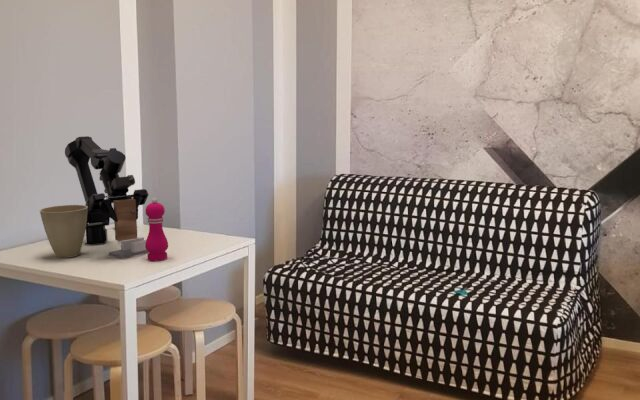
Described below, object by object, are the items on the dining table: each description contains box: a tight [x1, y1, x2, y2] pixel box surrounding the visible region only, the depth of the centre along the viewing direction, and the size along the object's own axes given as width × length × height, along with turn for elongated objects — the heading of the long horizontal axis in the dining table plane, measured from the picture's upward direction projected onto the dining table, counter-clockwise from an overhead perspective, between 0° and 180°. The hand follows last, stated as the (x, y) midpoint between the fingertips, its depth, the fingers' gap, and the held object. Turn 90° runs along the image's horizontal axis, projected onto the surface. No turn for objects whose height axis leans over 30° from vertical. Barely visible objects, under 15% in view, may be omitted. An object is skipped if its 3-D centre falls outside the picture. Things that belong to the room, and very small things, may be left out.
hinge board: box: [107, 236, 149, 259], centre depth 232 cm, size 8×18×4 cm, turn 142°
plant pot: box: [39, 204, 88, 258], centre depth 227 cm, size 15×15×16 cm
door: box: [112, 199, 138, 242], centre depth 223 cm, size 4×6×13 cm, turn 128°
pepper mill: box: [144, 197, 169, 262], centre depth 221 cm, size 7×7×20 cm
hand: (127, 220), depth 222 cm, fingers closed on door, 6 cm apart
